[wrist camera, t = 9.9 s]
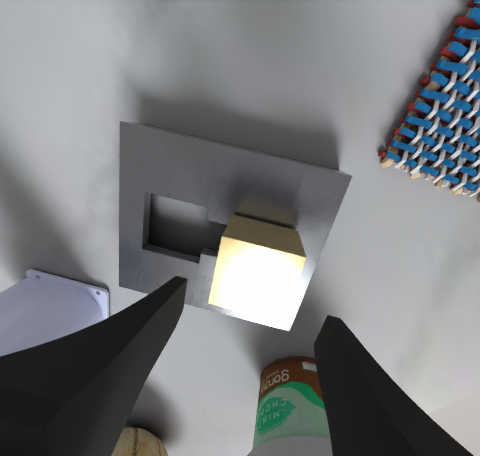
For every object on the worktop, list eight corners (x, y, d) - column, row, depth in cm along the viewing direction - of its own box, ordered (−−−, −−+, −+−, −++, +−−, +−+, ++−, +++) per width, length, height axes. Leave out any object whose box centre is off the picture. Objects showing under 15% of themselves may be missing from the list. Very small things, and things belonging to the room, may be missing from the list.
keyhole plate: (137, 268, 23) (118, 286, 20) (143, 124, 18) (119, 121, 15) (286, 308, 23) (289, 331, 20) (339, 170, 17) (352, 175, 15)
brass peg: (228, 250, 21) (208, 303, 14) (239, 202, 19) (221, 236, 12) (277, 262, 21) (281, 322, 14) (293, 215, 19) (306, 257, 12)
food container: (287, 329, 24) (297, 450, 14) (335, 355, 24) (376, 489, 15) (232, 390, 28) (214, 511, 19) (274, 411, 29) (276, 539, 19)
